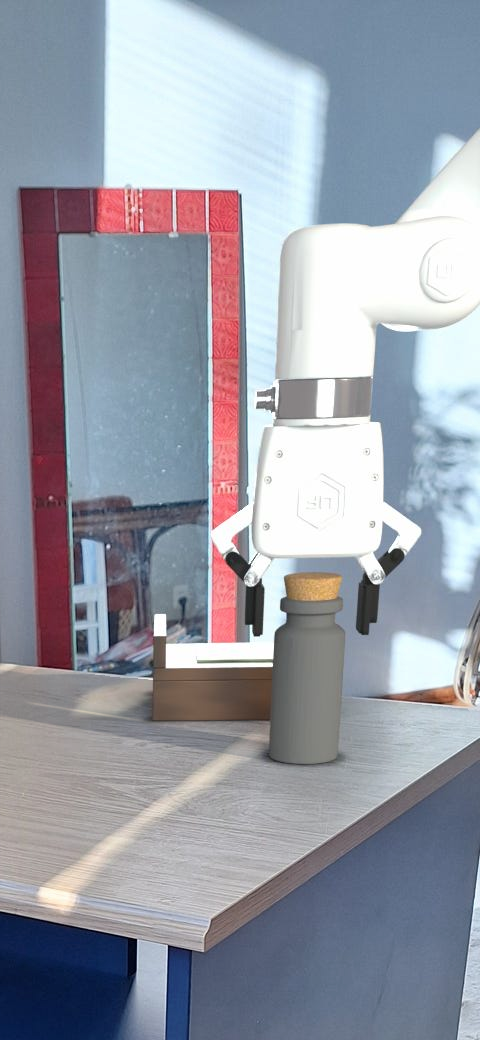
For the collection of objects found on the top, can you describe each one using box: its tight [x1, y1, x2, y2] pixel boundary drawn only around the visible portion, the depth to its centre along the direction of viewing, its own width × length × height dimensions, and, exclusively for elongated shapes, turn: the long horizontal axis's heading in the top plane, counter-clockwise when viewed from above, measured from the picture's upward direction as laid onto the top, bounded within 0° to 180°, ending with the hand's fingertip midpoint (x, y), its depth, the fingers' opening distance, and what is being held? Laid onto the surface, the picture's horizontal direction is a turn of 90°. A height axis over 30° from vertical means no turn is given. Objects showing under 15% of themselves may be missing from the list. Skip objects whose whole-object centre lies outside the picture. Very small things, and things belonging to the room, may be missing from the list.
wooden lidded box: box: [152, 613, 274, 722], centre depth 145 cm, size 16×14×8 cm
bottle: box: [268, 571, 346, 765], centre depth 123 cm, size 6×6×15 cm
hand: (309, 632), depth 122 cm, fingers open, 8 cm apart
